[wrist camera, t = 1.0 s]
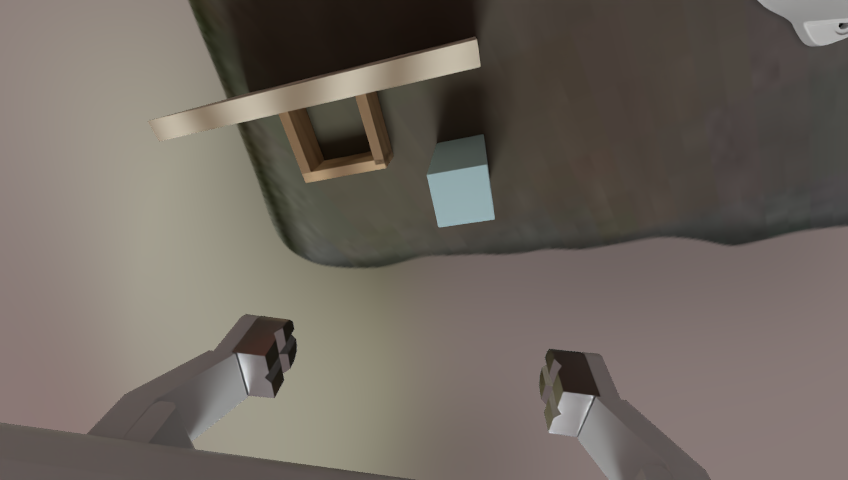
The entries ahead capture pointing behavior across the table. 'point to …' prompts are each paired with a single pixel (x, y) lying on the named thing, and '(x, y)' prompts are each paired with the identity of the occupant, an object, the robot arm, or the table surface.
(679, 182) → the table surface
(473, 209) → the cabinet block
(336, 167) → the cleat board
